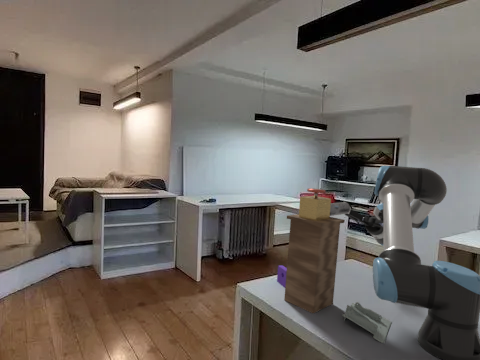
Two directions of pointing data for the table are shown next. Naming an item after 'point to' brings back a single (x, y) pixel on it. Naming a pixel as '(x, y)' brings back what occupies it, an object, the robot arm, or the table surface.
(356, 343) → the table surface
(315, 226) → the stand
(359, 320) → the metal bracket
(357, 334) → the table surface
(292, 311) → the table surface
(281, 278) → the bracket
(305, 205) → the valve pipe
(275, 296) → the table surface
